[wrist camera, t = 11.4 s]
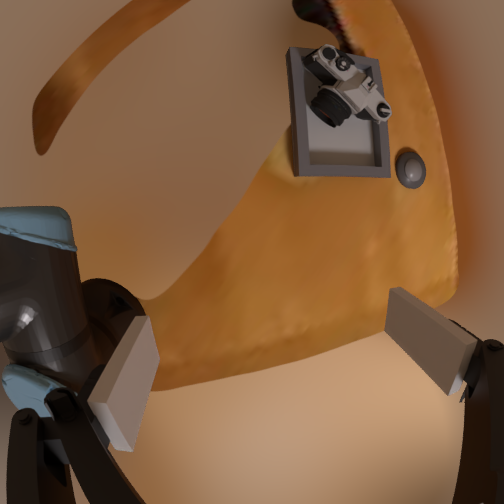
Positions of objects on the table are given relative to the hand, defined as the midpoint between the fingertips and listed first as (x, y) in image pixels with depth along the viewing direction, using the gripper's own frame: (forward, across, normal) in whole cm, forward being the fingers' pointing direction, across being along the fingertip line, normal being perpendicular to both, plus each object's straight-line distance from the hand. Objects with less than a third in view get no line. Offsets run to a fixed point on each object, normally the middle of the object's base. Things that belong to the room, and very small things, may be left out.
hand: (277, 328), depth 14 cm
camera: (+25, +13, +20) cm, 34 cm away
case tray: (+26, +15, +17) cm, 35 cm away
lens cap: (+26, +28, +9) cm, 39 cm away
